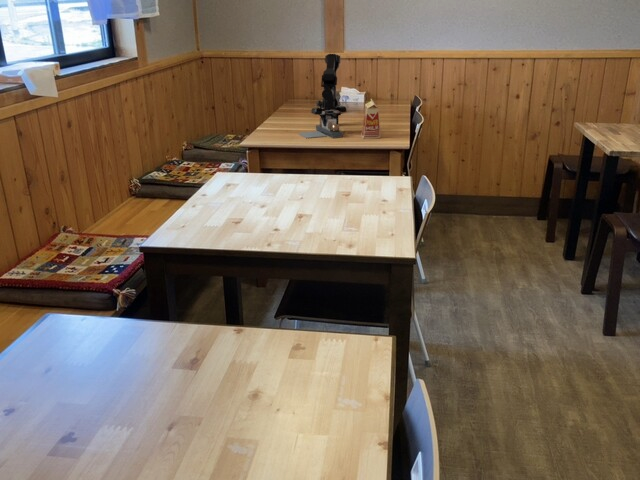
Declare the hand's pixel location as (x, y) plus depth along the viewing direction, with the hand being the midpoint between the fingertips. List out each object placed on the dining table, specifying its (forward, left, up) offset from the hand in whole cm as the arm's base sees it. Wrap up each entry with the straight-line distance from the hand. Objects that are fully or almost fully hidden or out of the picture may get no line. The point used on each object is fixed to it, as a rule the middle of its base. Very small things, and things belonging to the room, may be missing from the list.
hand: (329, 125), depth 317 cm
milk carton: (-17, +17, -5) cm, 24 cm away
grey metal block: (0, 0, -1) cm, 1 cm away
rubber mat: (+10, 0, -4) cm, 11 cm away
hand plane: (0, 0, -4) cm, 4 cm away
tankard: (-29, -59, -5) cm, 66 cm away
